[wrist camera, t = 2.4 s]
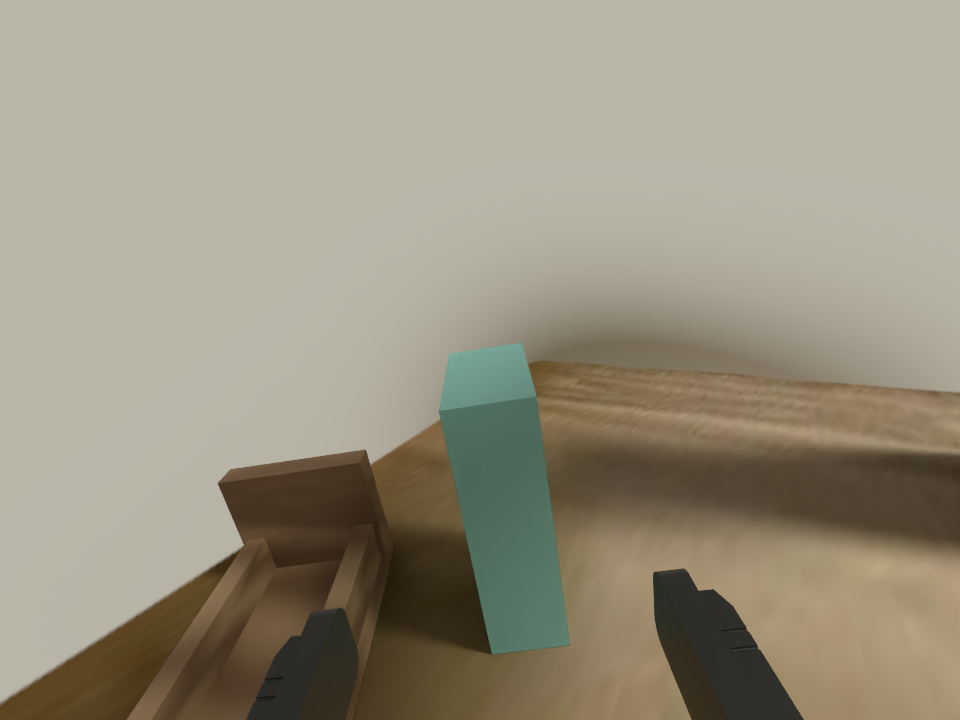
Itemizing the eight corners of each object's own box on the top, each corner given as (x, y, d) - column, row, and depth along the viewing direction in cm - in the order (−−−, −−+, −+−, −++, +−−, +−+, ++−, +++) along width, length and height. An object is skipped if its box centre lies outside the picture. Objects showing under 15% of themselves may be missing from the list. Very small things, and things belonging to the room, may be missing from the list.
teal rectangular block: (489, 553, 30) (449, 354, 25) (549, 545, 30) (521, 342, 25) (491, 654, 23) (438, 410, 18) (569, 645, 23) (536, 396, 18)
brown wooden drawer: (269, 565, 32) (230, 469, 29) (394, 548, 32) (365, 449, 29) (36, 978, 15) (-108, 842, 12) (296, 957, 15) (204, 810, 12)
